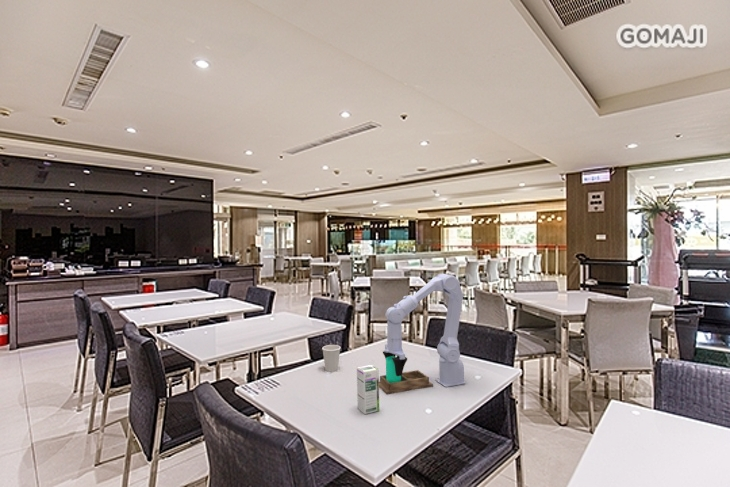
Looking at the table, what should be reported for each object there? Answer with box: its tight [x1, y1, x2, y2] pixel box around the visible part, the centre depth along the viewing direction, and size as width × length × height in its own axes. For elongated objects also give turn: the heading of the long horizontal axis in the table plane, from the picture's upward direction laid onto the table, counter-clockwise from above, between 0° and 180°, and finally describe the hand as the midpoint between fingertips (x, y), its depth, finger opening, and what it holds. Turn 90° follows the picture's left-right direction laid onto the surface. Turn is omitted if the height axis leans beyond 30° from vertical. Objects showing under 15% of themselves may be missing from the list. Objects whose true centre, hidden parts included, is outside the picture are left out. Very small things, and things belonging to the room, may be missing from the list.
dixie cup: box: [321, 344, 341, 373], centre depth 167 cm, size 8×8×10 cm
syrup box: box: [356, 364, 380, 415], centre depth 127 cm, size 6×6×14 cm
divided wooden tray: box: [379, 369, 434, 395], centre depth 148 cm, size 20×10×4 cm, turn 111°
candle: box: [385, 356, 401, 383], centre depth 146 cm, size 6×6×12 cm
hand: (394, 372), depth 146 cm, fingers open, 7 cm apart
